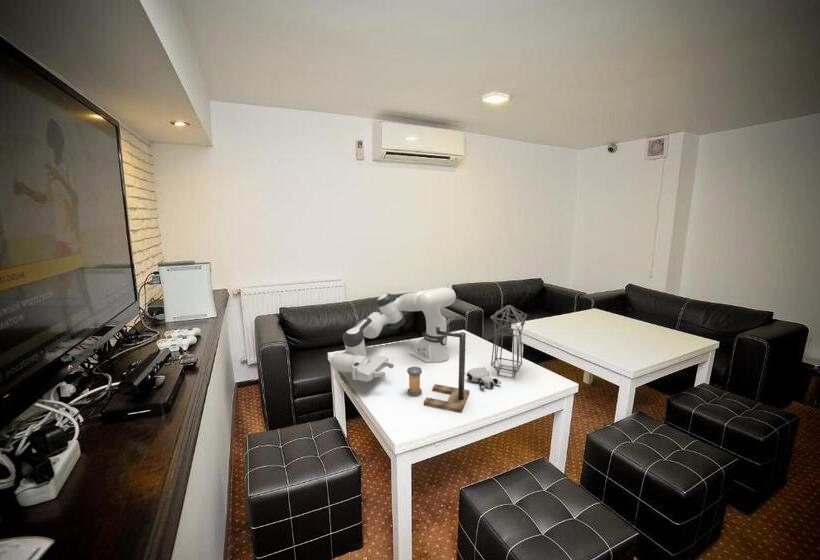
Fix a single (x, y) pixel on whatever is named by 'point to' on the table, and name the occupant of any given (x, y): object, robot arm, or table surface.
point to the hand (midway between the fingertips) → (388, 370)
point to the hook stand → (461, 358)
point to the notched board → (452, 402)
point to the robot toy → (481, 377)
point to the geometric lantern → (508, 335)
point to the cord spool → (414, 381)
